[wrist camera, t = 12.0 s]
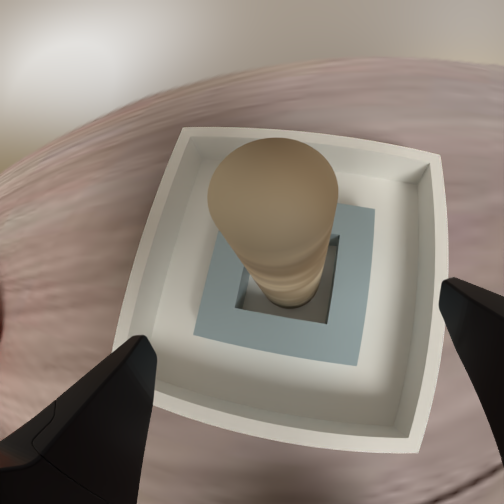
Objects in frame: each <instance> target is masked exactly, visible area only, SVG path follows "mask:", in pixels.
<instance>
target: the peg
mask: <svg viewBox="0 0 504 504" xmlns="http://www.w3.org/2000/svg"><path fill="white" fill-rule="evenodd" d="M207 201H208V208H209V212H210V215H211V218H212V220H213V221H214V223H215V225H216V226H217V228H218V229H219V231H220V232H221V234H222V235H223V236H224V238H225V239H226V241H227V242H228V244H229V245H230V246H231V248H232V249H233V251H234V252H235V254H236V255H237V256H238V258H239V259H240V261H241V262H242V264H243V265H244V266H245V268H246V269H247V271H248V272H249V273H250V275H251V276H252V278H253V279H254V281H255V282H256V283H257V285H258V286H259V288H260V289H261V290H262V292H263V293H264V295H265V296H266V297H267V299H268V300H269V301H270V302H271V303H273V304H274V305H276V306H278V307H281V308H285V309H294V308H299V307H301V306H304V305H305V304H307V303H308V302H310V301H311V300H312V299H313V297H314V296H315V295H316V293H317V291H318V288H319V284H320V280H321V276H322V272H323V267H324V263H325V259H326V254H327V250H328V245H329V241H330V236H331V231H332V227H333V222H334V217H335V212H336V207H337V201H338V182H337V178H336V175H335V173H334V171H333V168H332V167H331V165H330V164H329V162H328V161H327V160H326V158H325V157H324V156H323V155H322V154H320V153H319V152H318V151H317V150H315V149H314V148H312V147H311V146H309V145H307V144H305V143H302V142H300V141H297V140H293V139H288V138H264V139H259V140H255V141H252V142H249V143H247V144H245V145H243V146H241V147H239V148H237V149H236V150H234V151H233V152H231V153H230V154H229V155H228V156H227V157H225V158H224V160H223V161H222V162H221V163H220V164H219V165H218V167H217V168H216V170H215V172H214V173H213V175H212V178H211V180H210V183H209V187H208V194H207Z"/></svg>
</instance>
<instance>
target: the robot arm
mask: <svg viewBox="0 0 504 504" xmlns="http://www.w3.org/2000/svg"><path fill="white" fill-rule="evenodd" d="M438 305H439V310H440V312H441V315H442V317H443V319H444V322H445V324H446V327H447V329H448V331H449V334H450V336H451V339H452V341H453V344H454V346H455V349H456V351H457V353H458V355H459V357H460V359H461V361H462V363H463V365H464V367H465V369H466V371H467V373H468V375H469V377H470V380H471V382H472V384H473V386H474V388H475V391H476V393H477V395H478V397H479V400H480V402H481V404H482V407H483V409H484V412H485V414H486V417H487V419H488V422H489V424H490V427H491V430H492V432H493V435H494V438H495V441H496V444H497V447H498V450H499V453H500V456H501V460H502V463H503V466H504V297H503V296H501V295H498V294H496V293H494V292H491V291H489V290H486V289H484V288H481V287H479V286H476V285H473V284H471V283H468V282H466V281H463V280H460V279H458V278H455V277H452V278H448V279H445V280H443V281H442V283H441V289H440V296H439V303H438ZM156 370H157V355H156V352H155V351H154V349H153V347H152V345H151V343H150V341H149V340H148V338H147V337H146V336H145V335H134V336H132V337H130V338H129V339H128V340H127V341H126V342H124V343H123V344H122V345H121V346H119V347H118V348H117V349H116V350H115V351H113V352H112V353H111V354H110V355H109V356H107V357H106V358H105V359H104V360H103V361H101V362H100V363H99V364H98V365H97V366H95V367H94V368H93V369H92V370H90V371H89V372H88V373H87V374H86V375H84V376H83V377H82V378H81V379H80V380H78V381H77V382H76V383H75V384H74V385H73V386H71V387H70V388H69V389H68V390H67V391H65V392H64V393H63V394H62V395H61V396H59V397H58V398H57V400H55V401H53V402H52V403H51V404H50V405H49V406H47V407H46V408H45V409H44V410H42V411H41V412H40V413H39V414H38V415H36V416H35V417H34V418H32V419H31V420H30V421H28V422H27V423H26V424H24V425H23V426H21V427H20V428H19V429H17V430H16V431H14V432H13V433H12V434H10V435H9V436H7V437H6V438H5V439H3V440H2V441H0V504H137V497H138V490H139V483H140V476H141V469H142V463H143V457H144V451H145V445H146V439H147V433H148V428H149V423H150V417H151V412H152V407H153V400H154V391H155V380H156Z"/></svg>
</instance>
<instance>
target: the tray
mask: <svg viewBox="0 0 504 504" xmlns="http://www.w3.org/2000/svg"><path fill="white" fill-rule="evenodd" d="M264 138H288V139H293V140H297V141H300V142H302V143H305V144H307V145H309V146H311V147H312V148H314V149H315V150H317V151H318V152H319V153H320V154H322V155H323V156H324V157H325V158H326V160H327V161H328V162H329V164H330V165H331V167H332V168H333V171H334V173H335V175H336V178H337V182H338V201H337V207H336V212H335V217H334V222H333V227H332V231H331V236H330V241H329V245H328V250H327V254H326V259H325V263H324V267H323V272H322V276H321V280H320V284H319V288H318V291H317V293H316V295H315V296H314V297H313V299H312V300H311V301H310V302H308V303H307V304H305V305H304V306H301V307H299V308H294V309H285V308H281V307H278V306H276V305H274V304H273V303H271V302H270V301H269V300H268V299H267V297H266V296H265V295H264V293H263V292H262V290H261V289H260V288H259V286H258V285H257V283H256V282H255V281H254V279H253V278H252V276H251V275H250V273H249V272H248V271H247V269H246V268H245V266H244V265H243V264H242V262H241V261H240V259H239V258H238V256H237V255H236V254H235V252H234V251H233V249H232V248H231V246H230V245H229V244H228V242H227V241H226V239H225V238H224V236H223V235H222V234H221V232H220V231H219V229H218V228H217V226H216V225H215V223H214V221H213V220H212V218H211V215H210V212H209V208H208V201H207V194H208V187H209V183H210V180H211V178H212V175H213V173H214V172H215V170H216V168H217V167H218V165H219V164H220V163H221V162H222V161H223V160H224V158H225V157H227V156H228V155H229V154H230V153H231V152H233V151H234V150H236V149H237V148H239V147H241V146H243V145H245V144H247V143H249V142H252V141H255V140H259V139H264ZM445 279H448V225H447V209H446V197H445V187H444V179H443V171H442V164H441V157H440V155H438V154H434V153H430V152H426V151H421V150H417V149H412V148H408V147H403V146H398V145H393V144H388V143H382V142H377V141H371V140H365V139H359V138H352V137H345V136H338V135H330V134H321V133H312V132H303V131H291V130H279V129H263V128H240V127H183V129H182V131H181V133H180V135H179V138H178V140H177V142H176V145H175V147H174V150H173V152H172V155H171V157H170V159H169V162H168V164H167V167H166V170H165V172H164V175H163V177H162V180H161V183H160V185H159V188H158V191H157V193H156V196H155V199H154V202H153V205H152V207H151V210H150V213H149V216H148V219H147V222H146V225H145V228H144V231H143V234H142V237H141V241H140V244H139V247H138V250H137V254H136V257H135V260H134V264H133V267H132V271H131V274H130V278H129V281H128V285H127V289H126V293H125V296H124V300H123V304H122V308H121V312H120V317H119V321H118V325H117V330H116V334H115V339H114V344H113V348H112V352H113V351H115V350H116V349H117V348H118V347H119V346H121V345H122V344H123V343H124V342H126V341H127V340H128V339H129V338H130V337H132V336H134V335H145V336H146V337H147V338H148V340H149V341H150V343H151V345H152V347H153V349H154V351H155V352H156V355H157V370H156V380H155V391H154V400H153V405H154V406H157V407H159V408H162V409H165V410H167V411H170V412H173V413H176V414H179V415H182V416H184V417H187V418H190V419H194V420H197V421H200V422H203V423H206V424H210V425H213V426H217V427H220V428H224V429H227V430H231V431H235V432H239V433H243V434H247V435H251V436H256V437H260V438H265V439H270V440H275V441H280V442H285V443H291V444H297V445H303V446H310V447H317V448H325V449H334V450H344V451H356V452H373V453H418V452H419V449H420V446H421V443H422V439H423V436H424V433H425V429H426V426H427V422H428V418H429V414H430V410H431V406H432V402H433V397H434V393H435V388H436V383H437V378H438V372H439V366H440V360H441V354H442V347H443V339H444V330H445V322H444V319H443V317H442V315H441V312H440V310H439V305H438V303H439V296H440V289H441V283H442V281H443V280H445Z"/></svg>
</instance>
